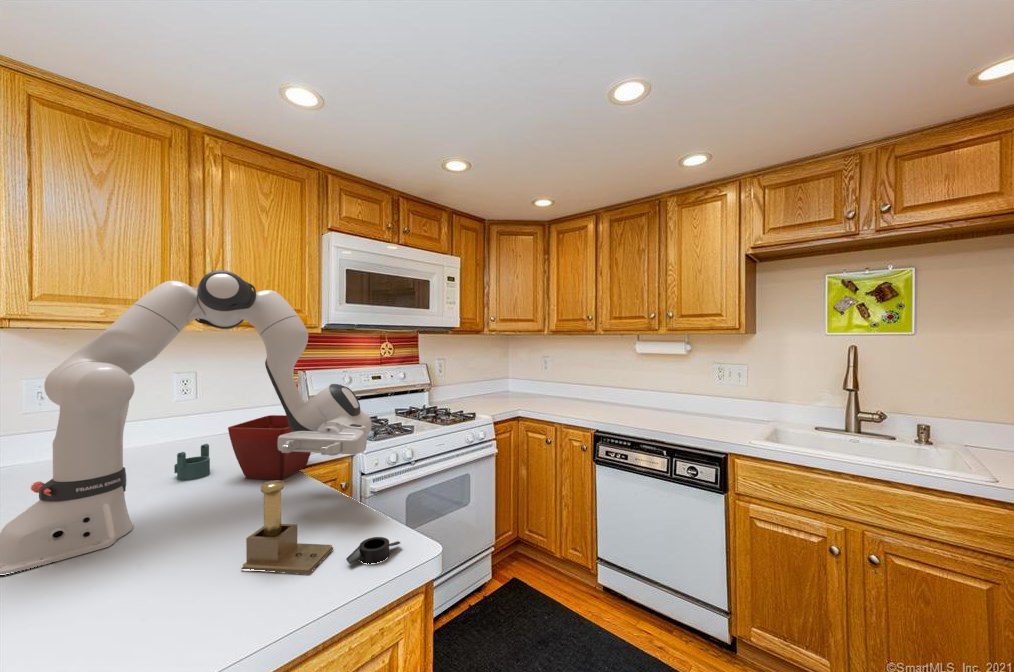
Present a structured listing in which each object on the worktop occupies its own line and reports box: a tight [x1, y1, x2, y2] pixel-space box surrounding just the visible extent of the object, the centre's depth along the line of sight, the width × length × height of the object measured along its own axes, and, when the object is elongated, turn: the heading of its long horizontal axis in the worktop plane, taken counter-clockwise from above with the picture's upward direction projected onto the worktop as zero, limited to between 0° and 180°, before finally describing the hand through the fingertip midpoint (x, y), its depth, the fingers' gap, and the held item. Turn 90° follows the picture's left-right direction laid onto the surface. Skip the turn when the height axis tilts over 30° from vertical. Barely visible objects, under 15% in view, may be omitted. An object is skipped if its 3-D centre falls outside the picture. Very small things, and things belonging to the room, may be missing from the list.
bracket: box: [174, 443, 211, 482], centre depth 133 cm, size 9×9×9 cm
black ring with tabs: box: [345, 536, 402, 565], centre depth 85 cm, size 8×10×3 cm
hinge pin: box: [260, 479, 285, 537], centre depth 84 cm, size 4×4×14 cm
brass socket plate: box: [240, 523, 334, 575], centre depth 84 cm, size 9×14×6 cm, turn 85°
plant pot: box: [227, 414, 312, 481], centre depth 136 cm, size 19×19×17 cm
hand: (304, 450), depth 96 cm, fingers open, 8 cm apart
